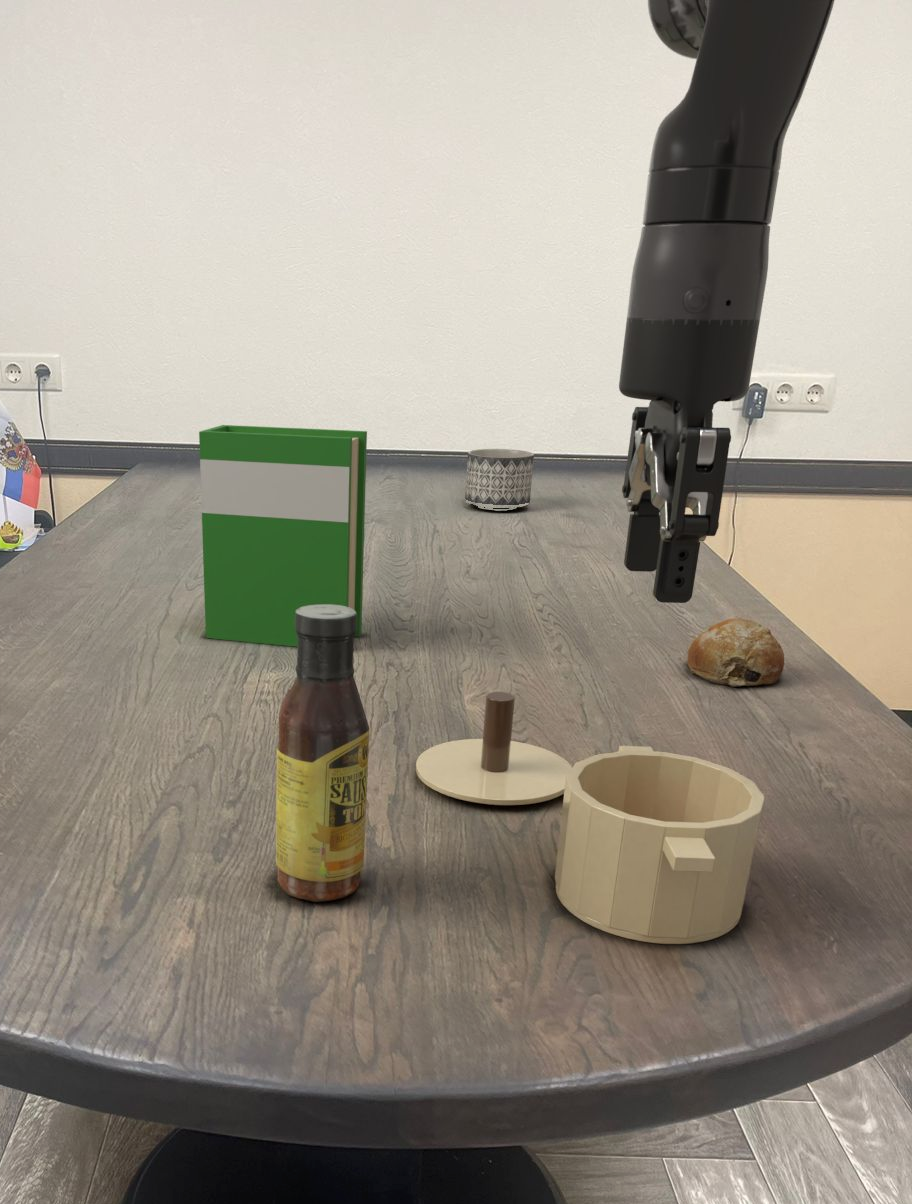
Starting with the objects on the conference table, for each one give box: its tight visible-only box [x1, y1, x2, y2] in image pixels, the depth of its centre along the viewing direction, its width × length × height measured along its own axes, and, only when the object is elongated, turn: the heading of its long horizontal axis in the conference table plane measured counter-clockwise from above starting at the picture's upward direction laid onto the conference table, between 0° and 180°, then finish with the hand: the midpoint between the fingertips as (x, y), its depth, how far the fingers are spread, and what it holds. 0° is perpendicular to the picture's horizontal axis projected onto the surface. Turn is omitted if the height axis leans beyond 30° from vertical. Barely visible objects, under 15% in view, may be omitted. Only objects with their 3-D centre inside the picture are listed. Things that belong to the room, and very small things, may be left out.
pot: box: [554, 745, 766, 945], centre depth 76 cm, size 13×18×8 cm
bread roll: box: [686, 617, 785, 688], centre depth 122 cm, size 10×10×8 cm
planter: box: [464, 448, 535, 509], centre depth 216 cm, size 13×13×10 cm
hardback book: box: [198, 424, 368, 648], centre depth 131 cm, size 18×7×24 cm, turn 73°
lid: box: [415, 691, 573, 806], centre depth 95 cm, size 14×14×8 cm
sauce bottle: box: [275, 604, 371, 903], centre depth 75 cm, size 6×6×20 cm
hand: (654, 584), depth 72 cm, fingers open, 8 cm apart
